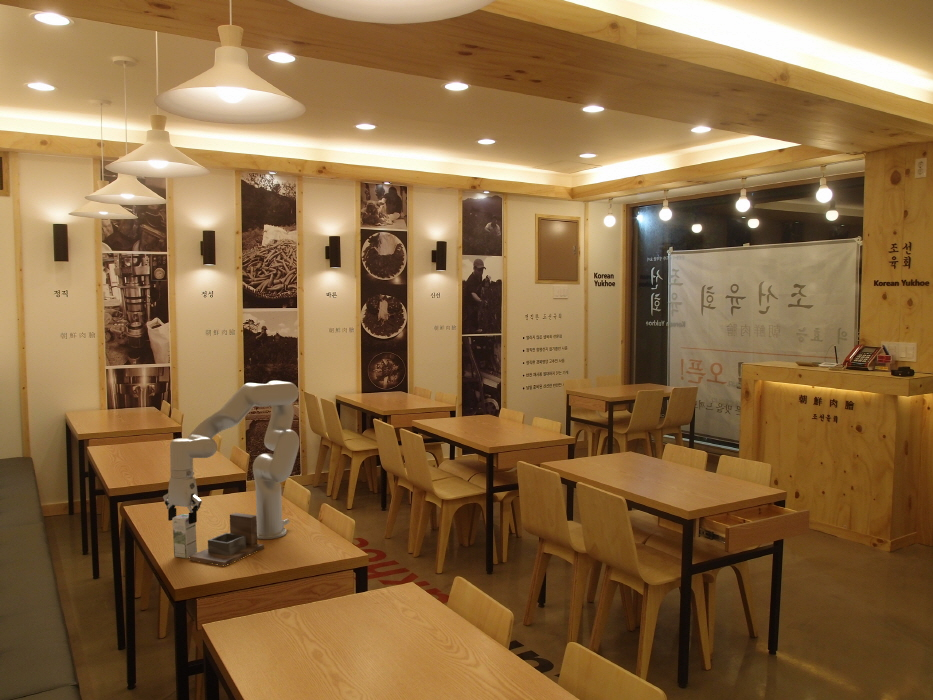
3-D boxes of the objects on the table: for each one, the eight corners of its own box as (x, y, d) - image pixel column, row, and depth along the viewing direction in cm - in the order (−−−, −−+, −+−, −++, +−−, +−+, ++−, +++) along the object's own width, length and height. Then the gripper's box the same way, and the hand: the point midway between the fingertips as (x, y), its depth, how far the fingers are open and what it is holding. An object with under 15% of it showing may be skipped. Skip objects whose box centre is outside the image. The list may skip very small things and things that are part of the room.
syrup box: (197, 553, 263) (196, 514, 262) (186, 559, 258) (184, 518, 257) (184, 552, 265) (183, 513, 264) (173, 557, 259) (171, 517, 259)
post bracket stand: (230, 543, 275) (229, 511, 274) (264, 548, 268) (262, 516, 267) (189, 560, 256) (188, 526, 256) (224, 566, 250) (223, 532, 249)
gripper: (208, 473, 259) (208, 521, 260) (172, 469, 266) (172, 516, 267) (192, 478, 252) (192, 527, 253) (155, 473, 260) (156, 521, 260)
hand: (182, 521), depth 260 cm, fingers open, 9 cm apart
